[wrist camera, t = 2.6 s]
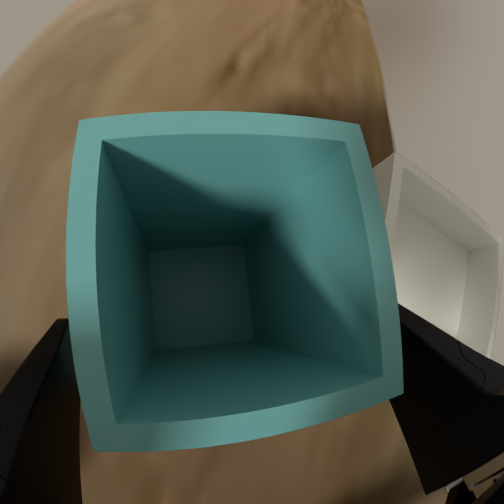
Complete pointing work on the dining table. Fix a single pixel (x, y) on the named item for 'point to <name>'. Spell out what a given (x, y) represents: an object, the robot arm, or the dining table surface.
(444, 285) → the white crate
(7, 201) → the dining table surface
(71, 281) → the teal crate
